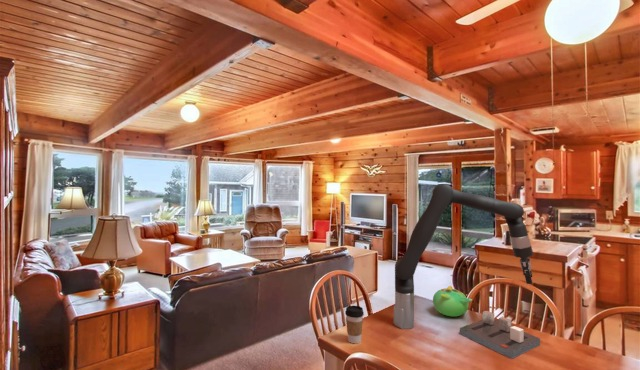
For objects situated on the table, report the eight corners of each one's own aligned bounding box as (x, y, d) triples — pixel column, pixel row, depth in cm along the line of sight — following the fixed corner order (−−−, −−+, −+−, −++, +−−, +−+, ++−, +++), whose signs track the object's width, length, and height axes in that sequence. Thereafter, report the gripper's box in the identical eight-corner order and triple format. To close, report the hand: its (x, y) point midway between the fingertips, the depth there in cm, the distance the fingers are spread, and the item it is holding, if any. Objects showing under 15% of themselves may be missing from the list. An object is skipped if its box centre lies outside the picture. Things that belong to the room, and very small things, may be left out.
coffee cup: (341, 340, 142) (341, 308, 142) (352, 334, 148) (352, 302, 148) (356, 347, 136) (356, 313, 136) (367, 340, 143) (367, 307, 142)
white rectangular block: (519, 342, 134) (519, 331, 134) (510, 338, 137) (510, 327, 137) (523, 341, 135) (523, 329, 135) (514, 337, 139) (514, 325, 138)
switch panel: (511, 359, 127) (512, 338, 127) (459, 334, 148) (460, 316, 148) (540, 345, 138) (540, 326, 138) (488, 323, 159) (488, 307, 159)
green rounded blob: (462, 309, 176) (462, 283, 176) (474, 323, 160) (474, 294, 159) (429, 308, 178) (429, 282, 178) (437, 321, 161) (437, 293, 161)
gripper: (512, 242, 152) (520, 275, 151) (511, 250, 140) (519, 285, 139) (531, 241, 147) (539, 275, 147) (530, 248, 136) (539, 285, 135)
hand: (529, 280), depth 143 cm, fingers open, 8 cm apart
